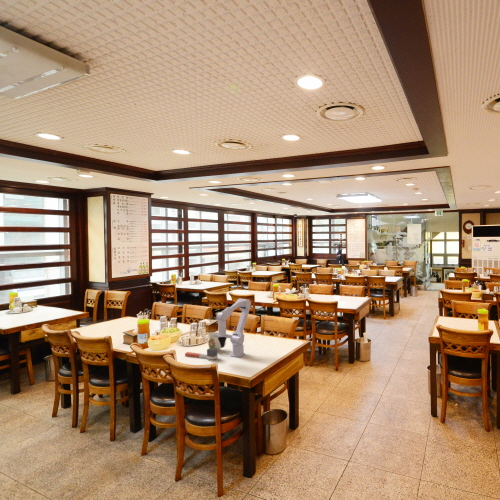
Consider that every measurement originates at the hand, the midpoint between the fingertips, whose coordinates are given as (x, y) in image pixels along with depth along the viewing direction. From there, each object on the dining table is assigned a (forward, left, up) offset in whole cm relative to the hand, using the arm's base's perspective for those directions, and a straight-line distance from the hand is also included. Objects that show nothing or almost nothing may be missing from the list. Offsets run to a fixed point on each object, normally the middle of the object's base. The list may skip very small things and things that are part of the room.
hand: (222, 347), depth 255 cm
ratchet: (-2, -19, -11) cm, 22 cm away
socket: (-2, -10, -8) cm, 13 cm away
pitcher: (-21, -17, -11) cm, 29 cm away
